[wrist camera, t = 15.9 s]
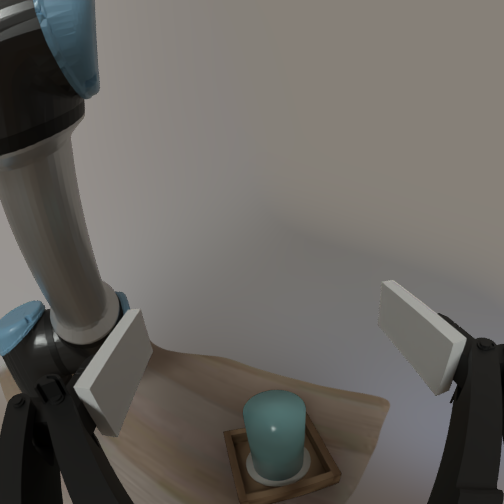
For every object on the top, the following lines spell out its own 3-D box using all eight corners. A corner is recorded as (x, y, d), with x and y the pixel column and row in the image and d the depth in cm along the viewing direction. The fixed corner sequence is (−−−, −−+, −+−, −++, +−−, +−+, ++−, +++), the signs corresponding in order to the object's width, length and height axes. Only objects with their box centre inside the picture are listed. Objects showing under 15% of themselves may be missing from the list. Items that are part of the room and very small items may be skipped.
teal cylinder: (260, 486, 27) (250, 439, 24) (248, 450, 34) (237, 397, 30) (310, 472, 28) (315, 422, 25) (294, 438, 35) (293, 384, 32)
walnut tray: (242, 509, 24) (239, 502, 23) (226, 442, 36) (223, 431, 36) (338, 482, 26) (341, 473, 26) (306, 423, 39) (306, 412, 38)
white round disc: (254, 493, 26) (253, 492, 26) (241, 447, 35) (240, 445, 34) (319, 475, 28) (320, 474, 28) (298, 433, 36) (298, 431, 36)
